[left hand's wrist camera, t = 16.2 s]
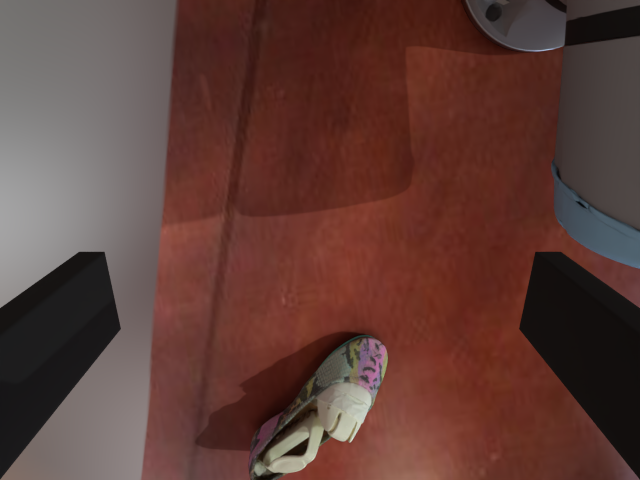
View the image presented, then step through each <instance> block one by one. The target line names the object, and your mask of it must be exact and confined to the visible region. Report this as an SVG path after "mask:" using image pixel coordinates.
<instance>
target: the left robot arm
mask: <svg viewBox="0 0 640 480" xmlns="http://www.w3.org/2000/svg"><path fill="white" fill-rule="evenodd" d="M461 1H462V4H463V6H464V9H465V11H466V13H467V15H468V17H469V19H470V20H471V22H472V23H473V24H474V26H475V27H476V28H477V29H478V31H479V32H480V33H481V34H483V35H484V36H485V37H486V38H487V39H489V40H490V41H491V42H493V43H495V44H497V45H499V46H501V47H503V48H506V49H509V50H513V51H519V52H537V51H545V50H551V49H555V48H559V47H562V46H564V50H563V64H562V77H561V88H560V100H559V112H558V124H557V136H556V148H555V157H554V159H553V161H552V165H551V170H552V175H553V177H554V211H555V215H556V217H557V220H558V222H559V223H560V224H561V225H562V226H563V228H564V229H566V231H567V233H568V234H569V235H570V236H571V237H572V238H573V239H575V240H576V241H577V242H579V243H580V244H582V245H583V246H585V247H587V248H588V249H590V250H592V251H594V252H596V253H598V254H600V255H602V256H605V257H607V258H609V259H612V260H615V261H617V262H620V263H623V264H626V265H629V266H632V267H635V268H639V269H640V0H461ZM627 36H628V37H627ZM620 37H621V38H620ZM613 38H615V39H613ZM606 39H608V40H606ZM599 40H601V41H599ZM592 41H595V42H592ZM585 42H588V43H585ZM580 43H582V44H580ZM574 44H575V45H574ZM565 45H569V46H565ZM120 329H121V328H120V323H119V318H118V314H117V309H116V304H115V299H114V295H113V290H112V285H111V281H110V276H109V271H108V266H107V262H106V257H105V252H78V253H77V254H76V255H74V256H73V257H71V258H70V259H69V260H67V261H66V262H64V263H63V264H62V265H60V266H59V267H57V268H56V269H55V270H53V271H52V272H50V273H49V274H48V275H46V276H45V277H43V278H42V279H41V280H39V281H38V282H36V283H35V284H34V285H32V286H31V287H29V288H28V289H27V290H25V291H24V292H22V293H21V294H20V295H18V296H17V297H15V298H14V299H13V300H11V301H10V302H8V303H7V304H6V305H4V306H3V307H1V308H0V479H1V478H2V476H3V475H4V474H5V473H6V471H7V470H8V469H9V468H10V466H11V465H12V464H13V463H14V461H15V460H16V459H17V458H18V456H19V455H20V454H21V453H22V451H23V450H24V449H25V448H26V446H27V445H28V444H29V443H30V441H31V440H32V439H33V438H34V436H35V435H36V434H37V433H38V431H39V430H40V429H41V428H42V427H43V425H44V424H45V423H46V421H47V420H48V419H49V418H50V417H51V415H52V414H53V413H54V412H55V410H56V409H57V408H58V406H59V405H60V404H61V403H62V402H63V400H64V399H65V398H66V397H67V395H68V394H69V393H70V391H71V390H72V389H73V388H74V387H75V385H76V384H77V383H78V382H79V380H80V379H81V378H82V377H83V375H84V374H85V373H86V372H87V370H88V369H89V368H90V367H91V365H92V364H93V363H94V362H95V360H96V359H97V358H98V357H99V355H100V354H101V353H102V352H103V350H104V349H105V348H106V347H107V345H108V344H109V343H110V342H111V340H112V339H113V338H114V337H115V335H116V334H117V333H118V332H119V330H120ZM519 329H520V330H521V332H522V333H523V334H524V335H525V337H526V338H527V339H528V340H529V342H530V343H531V344H532V345H533V347H534V348H535V349H536V350H537V352H538V353H539V354H540V355H541V357H542V358H543V359H544V360H545V362H546V363H547V364H548V365H549V367H550V368H551V369H552V370H553V372H554V373H555V374H556V375H557V377H558V378H559V379H560V380H561V382H562V383H563V384H564V385H565V387H566V388H567V389H568V390H569V392H570V393H571V394H572V395H573V397H574V398H575V399H576V400H577V402H578V403H579V404H580V405H581V407H582V408H583V409H584V410H585V412H586V413H587V414H588V415H589V417H590V418H591V419H592V420H593V422H594V423H595V424H596V425H597V427H598V428H599V429H600V430H601V431H602V433H603V434H604V435H605V436H606V438H607V439H608V440H609V441H610V443H611V444H612V445H613V446H614V448H615V449H616V450H617V451H618V453H619V454H620V455H621V456H622V458H623V459H624V460H625V461H626V463H627V464H628V465H629V466H630V468H631V469H632V470H633V471H634V473H635V474H636V475H637V476H638V478H639V479H640V308H639V307H637V306H636V305H635V304H633V303H632V302H630V301H629V300H627V299H626V298H625V297H623V296H622V295H620V294H619V293H618V292H616V291H615V290H613V289H612V288H611V287H609V286H608V285H606V284H605V283H604V282H602V281H601V280H599V279H598V278H597V277H595V276H594V275H592V274H591V273H590V272H588V271H587V270H585V269H584V268H583V267H581V266H580V265H578V264H577V263H576V262H574V261H573V260H571V259H570V258H569V257H567V256H566V255H564V254H563V253H562V252H535V257H534V262H533V266H532V271H531V276H530V280H529V285H528V290H527V295H526V299H525V304H524V309H523V313H522V318H521V323H520V328H519Z"/></svg>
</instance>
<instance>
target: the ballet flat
mask: <svg viewBox="0 0 640 480" xmlns="http://www.w3.org/2000/svg"><path fill="white" fill-rule="evenodd" d="M387 359H388V356H387V351H386V348H385V347H384V345H383V344H382V343H381V342H380V341H379V340H377V339H375V338H374V337H372V336H369V335H361V336H357V337H354V338H352V339H350V340H348V341H347V342H345V343H344V344H342V345H341V346H340V347H338V348H337V349H336V350H334V351H333V352H332V353H331V354H330V355H329V356H328V357H327V358H326V359H325V360H324V362H323V363H322V364H321V365H320V367H319V368H318V369H317V371H316V372H315V373H314V374H313V375H312V376H311V377H310V378H309V380H308V381H307V382H306V383H305V385H304V386H303V388H302V389H301V391H300V393H299V394H298V396H297V397H296V398H295V400H294V401H293V402H292V403H291V404H290V405H289V406H288V407H287V408H286V409H285V410H284V411H283V412H281V413H280V414H278V415H276V416H274V417H273V418H271V419H270V420H268V421H267V422H266V423H265V424H263V425H262V426H261V427H260V428H259V429H258V430H257V431H256V432H255V434H254V436H253V439H252V442H251V446H250V457H249V464H248V467H249V475H250V479H251V480H276V479H278V478H280V477H282V476H284V475H286V474H287V473H291V472H296V471H299V470H301V469H303V468H304V467H305V466H306V465H307V463H309V462H311V461H312V460H313V459H314V458H315V456H316V453H317V450H318V447H319V446H321V445H322V444H323V443H325V442H326V441H327V440H329V439H330V438H331V437H333V438H335V439H337V440H339V441H345V440H349V442H351V441H352V440H353V438H354V436H355V435H356V433H357V431H358V429H359V427H360V425H361V424H362V423H363V421H364V419H365V416H366V414H367V412H368V411H369V410H370V409H371V407H372V406H373V404H374V401H375V397H376V394H377V391H378V389H379V387H380V385H381V382H382V380H383V377H384V374H385V371H386V366H387Z"/></svg>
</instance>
